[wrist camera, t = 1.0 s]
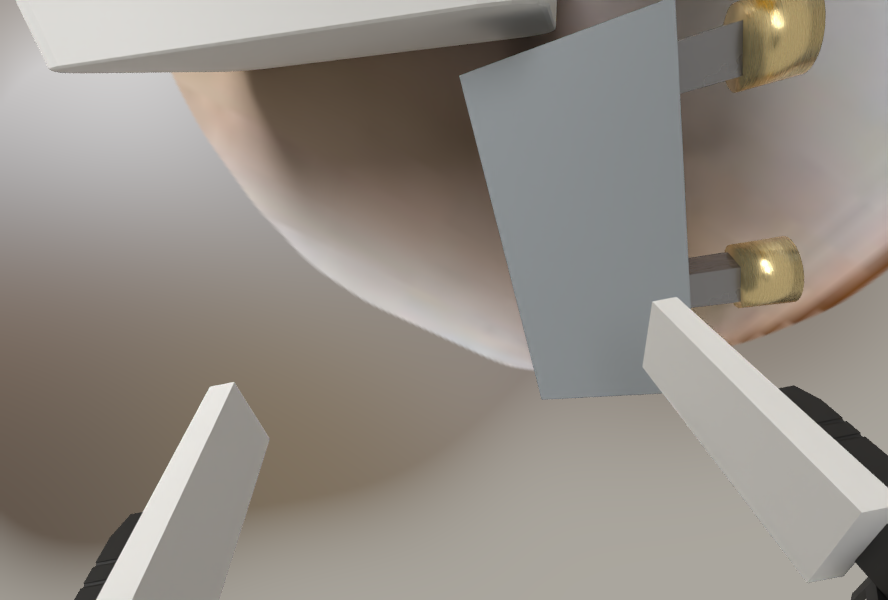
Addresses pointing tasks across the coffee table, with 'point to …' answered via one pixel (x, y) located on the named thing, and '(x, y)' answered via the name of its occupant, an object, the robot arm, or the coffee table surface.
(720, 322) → the coffee table surface
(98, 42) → the rounded white slab
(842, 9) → the coffee table surface
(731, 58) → the knob
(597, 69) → the knob housing
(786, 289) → the knob
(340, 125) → the coffee table surface
